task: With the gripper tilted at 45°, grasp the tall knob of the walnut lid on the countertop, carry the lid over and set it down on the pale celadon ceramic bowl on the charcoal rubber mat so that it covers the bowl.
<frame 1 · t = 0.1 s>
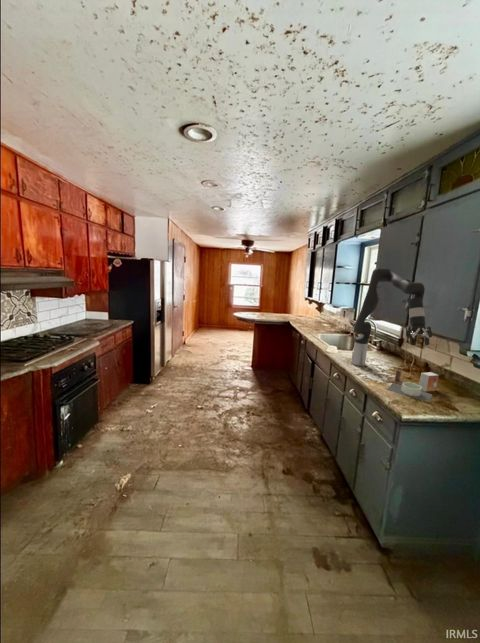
hand: (420, 345, 162), 31 cm above the table, tool tilted 20°, fingers open, 8 cm apart
small box: (427, 390, 180), on the table
mat: (409, 392, 174), on the table
lid: (397, 382, 191), on the table
bowl: (410, 393, 173), resting on mat
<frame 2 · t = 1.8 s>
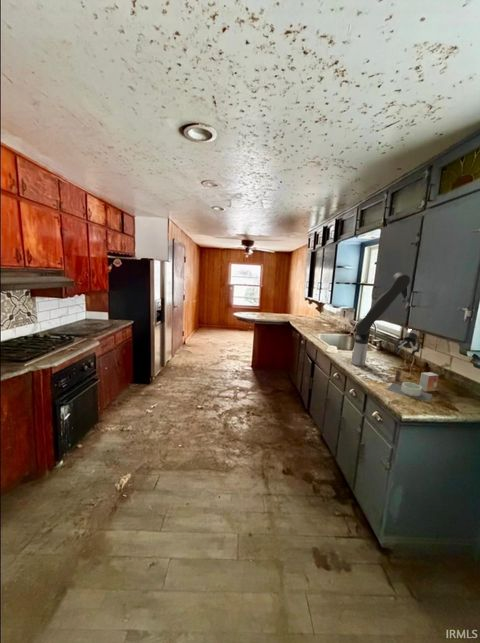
hand: (404, 354, 195), 16 cm above the table, tool tilted 45°, fingers open, 8 cm apart
nothing on the table moved.
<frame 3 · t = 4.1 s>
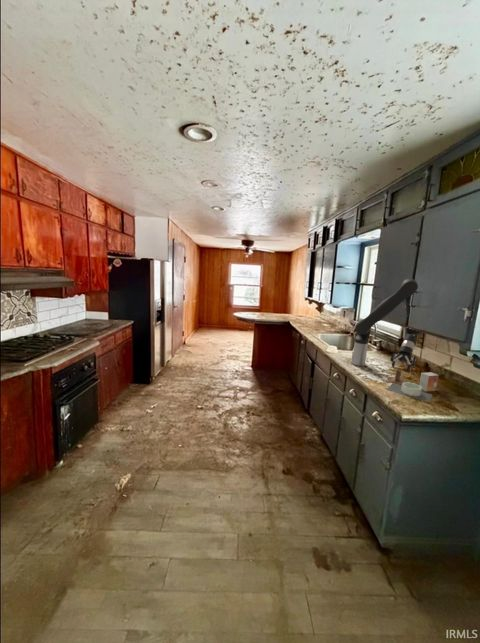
hand: (400, 368, 191), 9 cm above the table, tool tilted 45°, fingers open, 8 cm apart
nothing on the table moved.
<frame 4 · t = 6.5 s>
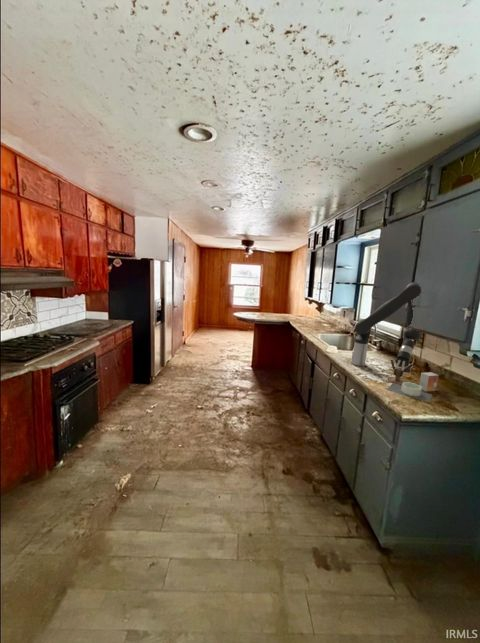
hand: (397, 375, 189), 5 cm above the table, tool tilted 45°, fingers closed on lid, 2 cm apart
lid: (397, 381, 191), on the table, touching gripper
everything else where it was.
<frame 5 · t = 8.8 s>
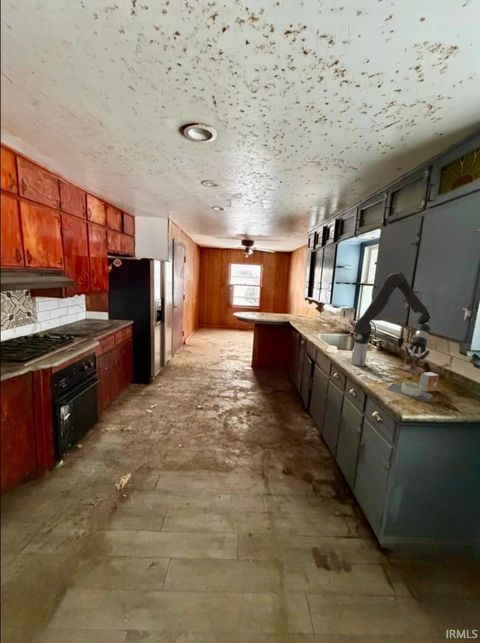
hand: (413, 363, 171), 18 cm above the table, tool tilted 45°, fingers closed on lid, 2 cm apart
lid: (412, 370, 174), point 14 cm above the table, touching gripper
everything else where it was.
when the fingers open (11 cm above the table, at t = 11.4 s): lid stays where it is, resting on bowl.
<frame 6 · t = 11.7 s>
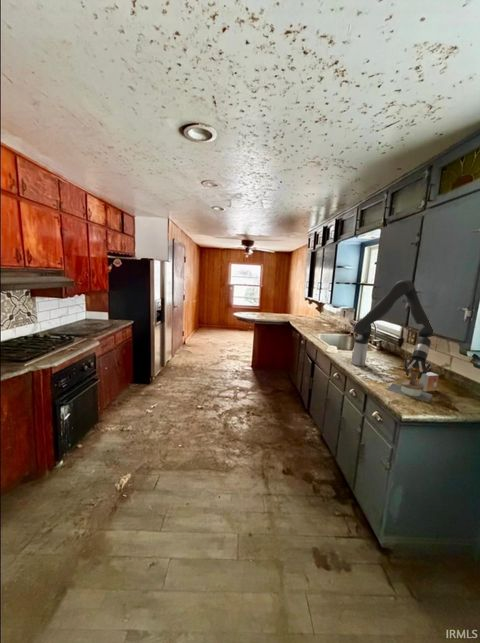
hand: (412, 376, 169), 11 cm above the table, tool tilted 45°, fingers open, 5 cm apart
lid: (411, 385, 172), point 5 cm above the table, touching bowl
everything else where it was.
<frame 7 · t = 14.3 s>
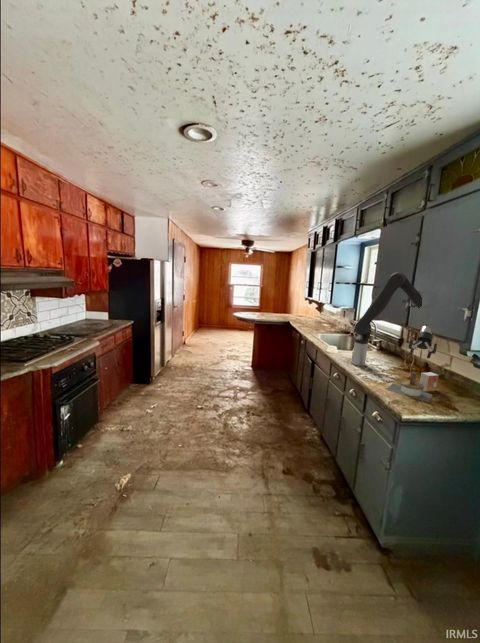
hand: (419, 356, 175), 22 cm above the table, tool tilted 45°, fingers open, 8 cm apart
nothing on the table moved.
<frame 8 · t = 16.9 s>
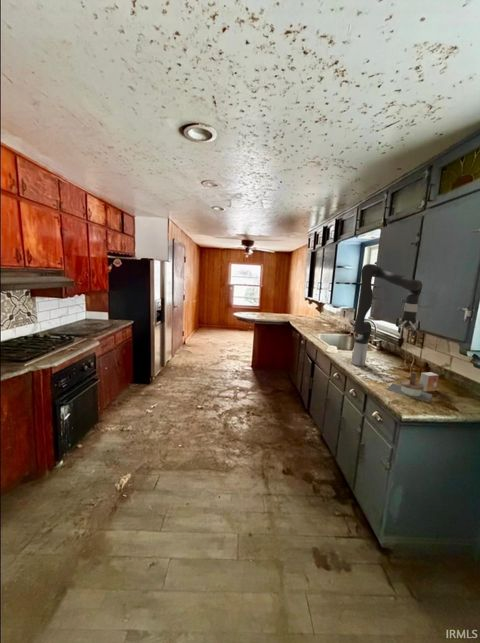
hand: (406, 334, 194), 30 cm above the table, tool pointing down, fingers open, 8 cm apart
nothing on the table moved.
at the end: lid 0.2 cm off-centre on the bowl, point 4.8 cm above the bowl's base; lid tilted 0°; the gripper is holding nothing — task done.
